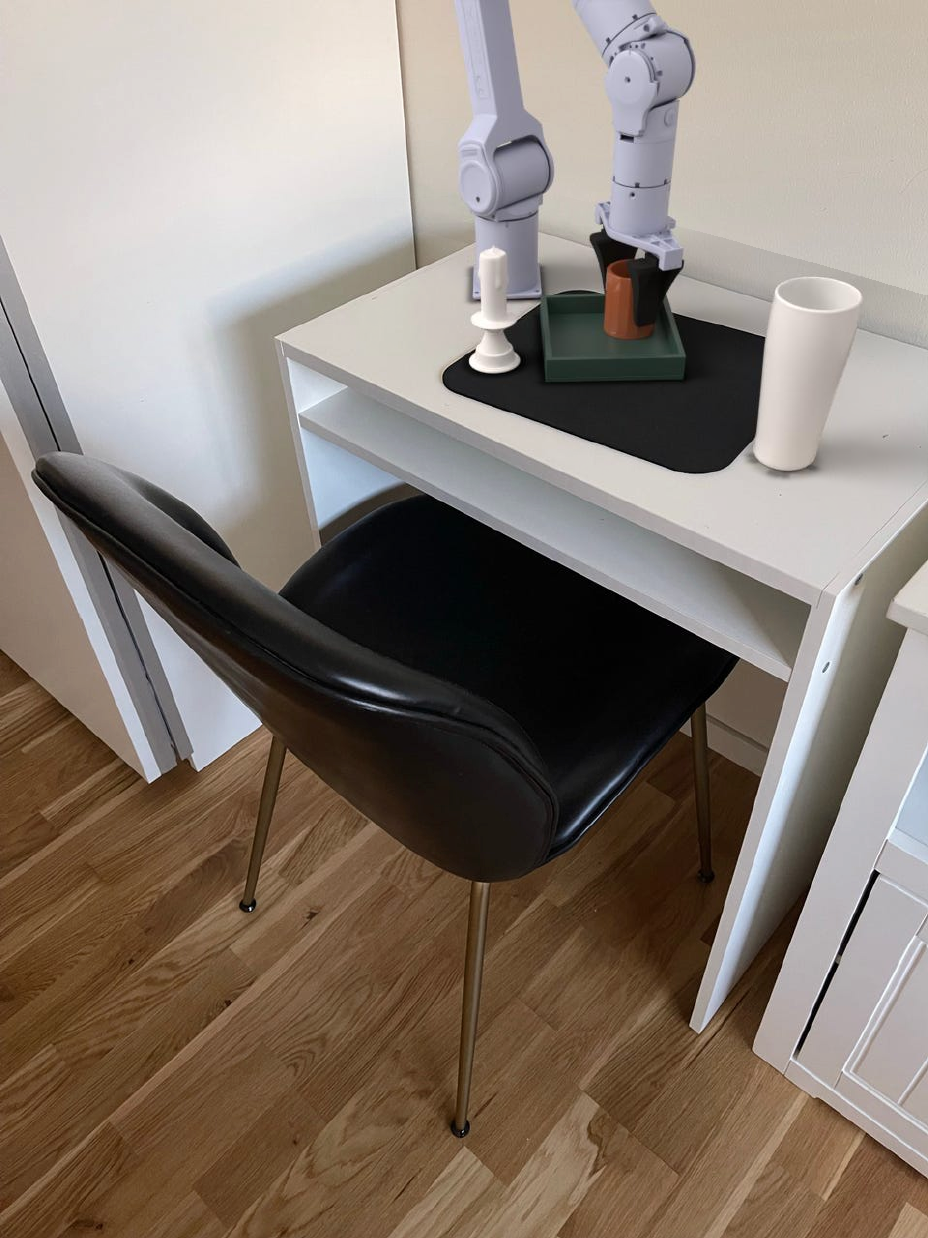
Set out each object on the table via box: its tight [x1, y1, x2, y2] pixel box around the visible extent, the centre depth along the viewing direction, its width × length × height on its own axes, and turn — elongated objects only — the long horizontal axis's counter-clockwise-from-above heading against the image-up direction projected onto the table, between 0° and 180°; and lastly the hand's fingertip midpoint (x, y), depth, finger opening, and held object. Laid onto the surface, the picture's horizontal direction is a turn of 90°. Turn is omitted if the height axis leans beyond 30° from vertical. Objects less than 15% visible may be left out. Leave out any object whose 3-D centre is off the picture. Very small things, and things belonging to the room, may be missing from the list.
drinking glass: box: [752, 276, 864, 472], centre depth 80 cm, size 7×7×15 cm
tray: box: [539, 293, 687, 383], centre depth 101 cm, size 15×14×2 cm
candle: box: [468, 245, 521, 374], centre depth 96 cm, size 5×5×12 cm
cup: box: [604, 259, 655, 340], centre depth 101 cm, size 5×5×6 cm
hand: (630, 311), depth 102 cm, fingers open, 6 cm apart
